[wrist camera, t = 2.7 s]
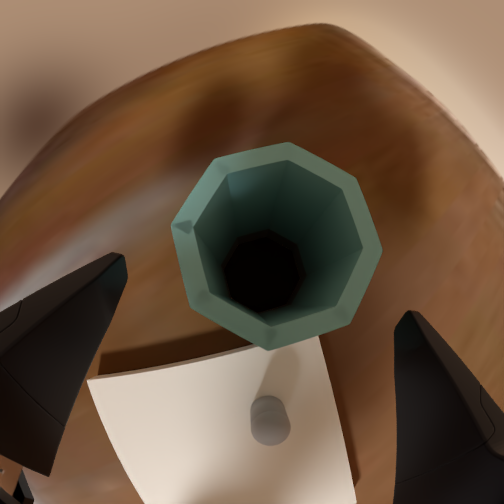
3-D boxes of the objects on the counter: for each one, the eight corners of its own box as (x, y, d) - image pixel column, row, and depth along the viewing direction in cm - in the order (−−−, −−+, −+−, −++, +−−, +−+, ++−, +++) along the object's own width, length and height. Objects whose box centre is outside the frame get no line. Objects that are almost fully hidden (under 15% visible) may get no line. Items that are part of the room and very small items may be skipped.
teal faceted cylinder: (317, 304, 17) (398, 304, 7) (230, 330, 17) (207, 366, 7) (291, 220, 18) (336, 133, 8) (206, 243, 18) (161, 174, 8)
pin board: (350, 493, 14) (372, 528, 9) (171, 525, 13) (158, 561, 8) (310, 326, 17) (334, 335, 12) (97, 375, 16) (56, 392, 11)
